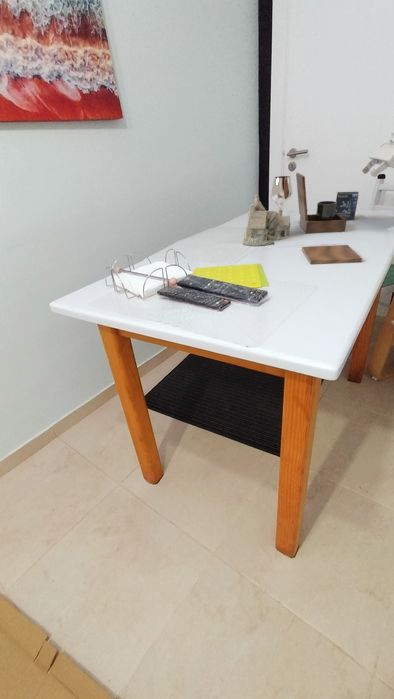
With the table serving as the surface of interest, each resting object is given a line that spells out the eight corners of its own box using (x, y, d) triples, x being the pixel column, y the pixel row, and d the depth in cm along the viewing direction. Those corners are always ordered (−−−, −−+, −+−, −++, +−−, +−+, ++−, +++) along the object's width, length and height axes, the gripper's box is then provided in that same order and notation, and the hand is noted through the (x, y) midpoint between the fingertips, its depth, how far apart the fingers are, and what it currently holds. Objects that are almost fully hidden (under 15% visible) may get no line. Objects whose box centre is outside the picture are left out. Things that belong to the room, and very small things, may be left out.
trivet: (347, 247, 106) (347, 244, 106) (361, 262, 95) (362, 258, 94) (301, 250, 108) (301, 246, 107) (310, 264, 96) (310, 260, 96)
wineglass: (279, 230, 131) (282, 178, 122) (264, 227, 137) (266, 177, 128) (294, 226, 135) (298, 176, 125) (279, 223, 141) (282, 175, 131)
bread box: (335, 226, 131) (336, 212, 128) (344, 234, 120) (346, 220, 117) (299, 227, 132) (300, 215, 129) (305, 236, 121) (306, 222, 119)
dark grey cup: (330, 226, 128) (334, 200, 123) (335, 230, 122) (338, 203, 118) (313, 227, 129) (315, 201, 124) (316, 231, 123) (319, 204, 118)
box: (332, 222, 136) (336, 193, 130) (333, 219, 140) (337, 191, 134) (354, 222, 133) (359, 193, 127) (353, 219, 137) (358, 191, 132)
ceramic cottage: (237, 244, 117) (240, 197, 110) (251, 234, 130) (255, 192, 122) (281, 250, 112) (288, 201, 104) (292, 239, 124) (299, 194, 116)
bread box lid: (298, 172, 122) (295, 173, 122) (304, 176, 111) (302, 176, 111) (301, 213, 129) (299, 214, 129) (307, 220, 119) (305, 221, 119)
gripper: (387, 130, 117) (353, 164, 123) (413, 130, 100) (371, 169, 106) (398, 144, 119) (363, 177, 125) (425, 146, 101) (383, 184, 108)
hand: (367, 173), depth 115 cm, fingers open, 8 cm apart
